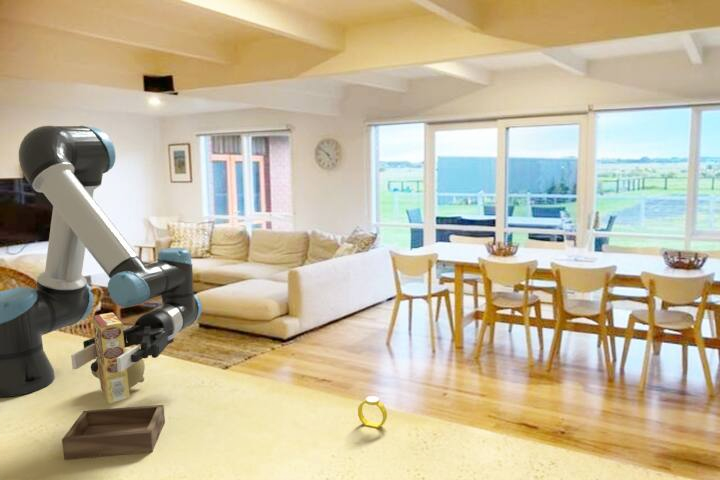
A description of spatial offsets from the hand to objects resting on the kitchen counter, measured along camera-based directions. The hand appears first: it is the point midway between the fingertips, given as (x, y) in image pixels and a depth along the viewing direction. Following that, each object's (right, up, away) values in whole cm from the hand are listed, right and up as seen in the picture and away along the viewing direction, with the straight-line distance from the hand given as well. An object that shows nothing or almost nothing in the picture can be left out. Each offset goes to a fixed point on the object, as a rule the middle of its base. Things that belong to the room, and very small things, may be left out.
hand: (96, 363), depth 109 cm
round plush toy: (-8, -13, +31) cm, 35 cm away
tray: (+1, -17, +7) cm, 18 cm away
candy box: (+1, -7, +6) cm, 9 cm away
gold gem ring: (+52, -15, +11) cm, 55 cm away
